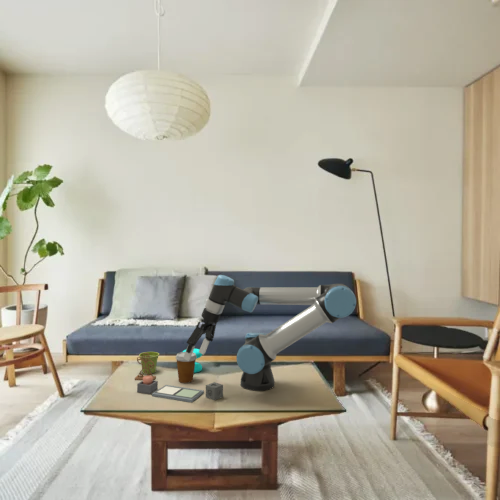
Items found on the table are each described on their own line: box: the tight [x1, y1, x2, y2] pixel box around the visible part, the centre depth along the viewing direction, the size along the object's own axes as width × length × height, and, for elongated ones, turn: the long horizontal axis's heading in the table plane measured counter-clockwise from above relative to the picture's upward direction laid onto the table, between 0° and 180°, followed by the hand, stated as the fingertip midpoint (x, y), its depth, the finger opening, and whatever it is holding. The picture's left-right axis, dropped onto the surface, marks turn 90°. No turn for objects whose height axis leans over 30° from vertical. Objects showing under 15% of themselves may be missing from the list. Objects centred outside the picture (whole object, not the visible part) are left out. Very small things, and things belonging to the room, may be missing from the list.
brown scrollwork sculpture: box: [134, 352, 157, 381], centre depth 179 cm, size 9×4×12 cm, turn 88°
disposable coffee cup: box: [175, 351, 198, 384], centre depth 178 cm, size 10×10×12 cm
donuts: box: [182, 348, 203, 374], centre depth 193 cm, size 10×10×10 cm
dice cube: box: [205, 381, 224, 401], centre depth 159 cm, size 5×5×5 cm
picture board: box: [151, 384, 205, 403], centre depth 161 cm, size 18×11×1 cm, turn 71°
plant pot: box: [138, 351, 160, 375], centre depth 189 cm, size 9×9×9 cm
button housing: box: [136, 380, 159, 395], centre depth 165 cm, size 6×6×4 cm
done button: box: [143, 375, 154, 385], centre depth 165 cm, size 4×4×4 cm
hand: (194, 356), depth 166 cm, fingers open, 13 cm apart
